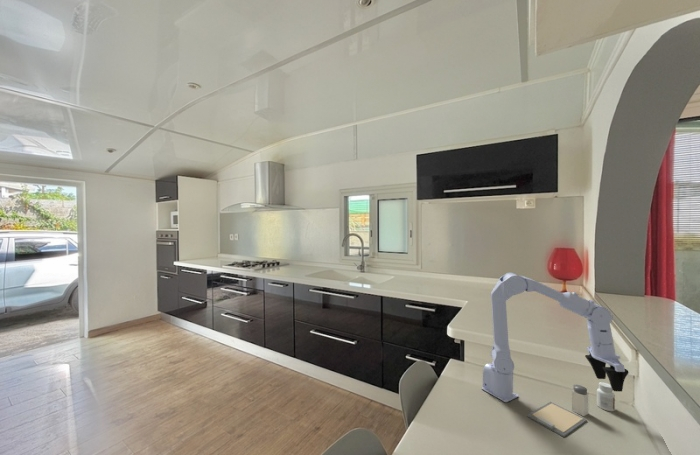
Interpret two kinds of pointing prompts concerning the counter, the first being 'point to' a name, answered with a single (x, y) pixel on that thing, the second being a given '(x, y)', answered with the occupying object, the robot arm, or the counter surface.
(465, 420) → the counter surface
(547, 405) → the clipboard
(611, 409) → the pill bottle
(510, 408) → the counter surface
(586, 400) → the block with domed cap
